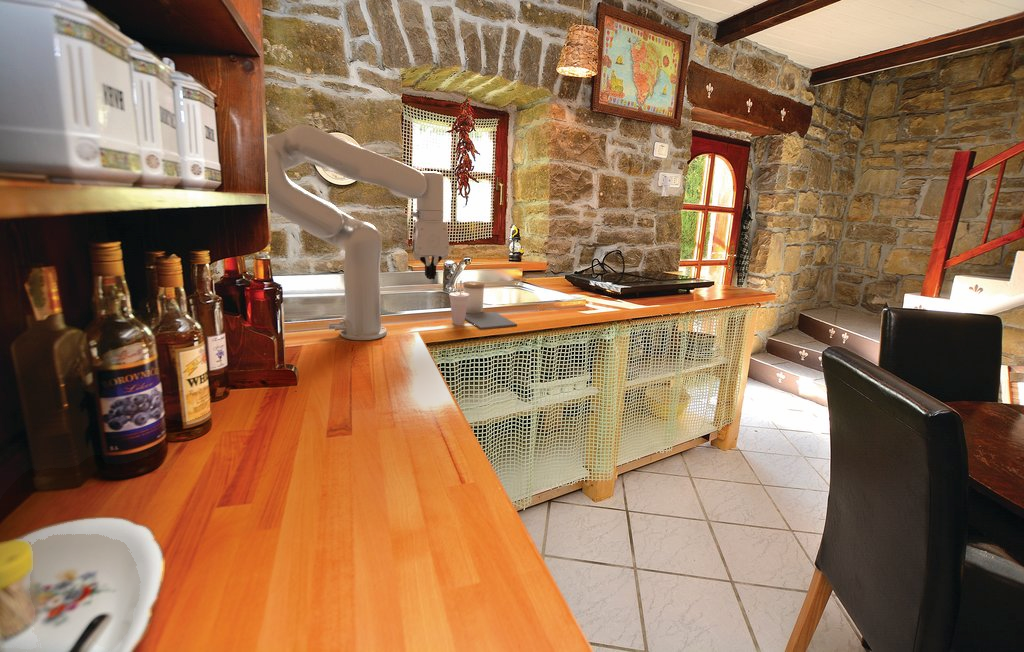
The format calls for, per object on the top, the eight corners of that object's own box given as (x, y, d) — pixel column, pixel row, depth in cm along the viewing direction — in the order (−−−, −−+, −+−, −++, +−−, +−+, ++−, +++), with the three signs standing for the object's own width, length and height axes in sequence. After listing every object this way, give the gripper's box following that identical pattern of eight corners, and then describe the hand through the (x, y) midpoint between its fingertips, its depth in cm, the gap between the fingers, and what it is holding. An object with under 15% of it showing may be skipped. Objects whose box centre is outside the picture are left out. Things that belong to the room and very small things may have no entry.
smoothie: (458, 327, 149) (460, 283, 145) (444, 323, 152) (444, 279, 149) (472, 323, 154) (474, 280, 150) (458, 319, 157) (459, 277, 153)
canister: (467, 314, 164) (468, 286, 162) (458, 309, 170) (459, 281, 168) (486, 313, 168) (488, 285, 165) (477, 308, 174) (478, 280, 171)
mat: (480, 329, 148) (480, 327, 148) (460, 316, 162) (460, 314, 161) (516, 325, 155) (517, 324, 154) (494, 313, 168) (494, 311, 168)
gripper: (409, 217, 132) (410, 282, 138) (459, 217, 140) (458, 279, 145) (401, 215, 139) (402, 277, 144) (449, 215, 146) (449, 274, 151)
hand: (430, 278), depth 144 cm, fingers closed
